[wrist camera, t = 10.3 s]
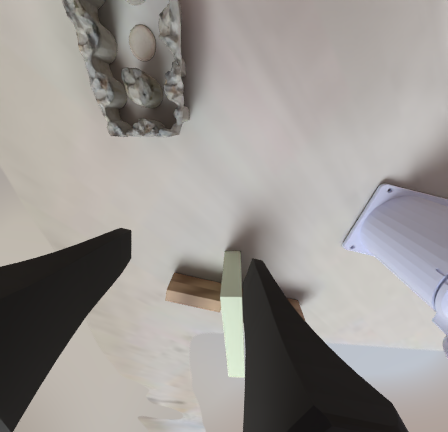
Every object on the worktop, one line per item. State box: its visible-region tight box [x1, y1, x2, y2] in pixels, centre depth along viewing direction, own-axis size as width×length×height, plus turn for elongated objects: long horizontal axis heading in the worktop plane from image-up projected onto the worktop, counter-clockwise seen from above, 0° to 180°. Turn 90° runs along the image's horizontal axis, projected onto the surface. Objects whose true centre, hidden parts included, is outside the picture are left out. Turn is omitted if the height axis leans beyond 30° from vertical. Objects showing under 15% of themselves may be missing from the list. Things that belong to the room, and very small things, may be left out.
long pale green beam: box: [220, 251, 245, 378], centre depth 23 cm, size 14×2×7 cm, turn 4°
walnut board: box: [165, 273, 305, 320], centre depth 24 cm, size 18×2×3 cm, turn 77°
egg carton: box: [62, 0, 189, 137], centre depth 14 cm, size 11×8×4 cm
